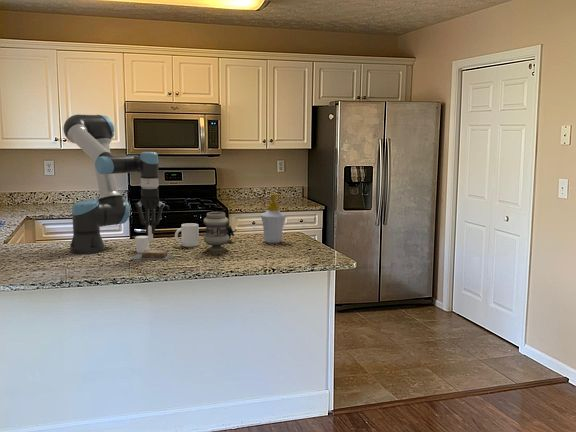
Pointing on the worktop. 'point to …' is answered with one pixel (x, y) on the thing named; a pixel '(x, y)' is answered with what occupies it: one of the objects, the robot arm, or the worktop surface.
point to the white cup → (141, 243)
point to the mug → (188, 235)
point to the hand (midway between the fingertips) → (150, 240)
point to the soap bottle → (273, 222)
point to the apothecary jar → (216, 231)
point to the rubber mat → (139, 256)
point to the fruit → (230, 231)
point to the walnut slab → (154, 254)
